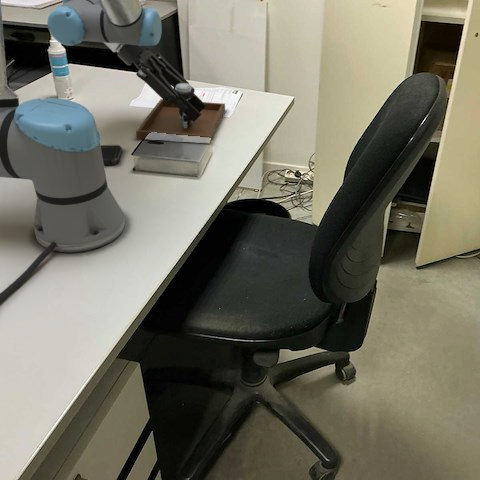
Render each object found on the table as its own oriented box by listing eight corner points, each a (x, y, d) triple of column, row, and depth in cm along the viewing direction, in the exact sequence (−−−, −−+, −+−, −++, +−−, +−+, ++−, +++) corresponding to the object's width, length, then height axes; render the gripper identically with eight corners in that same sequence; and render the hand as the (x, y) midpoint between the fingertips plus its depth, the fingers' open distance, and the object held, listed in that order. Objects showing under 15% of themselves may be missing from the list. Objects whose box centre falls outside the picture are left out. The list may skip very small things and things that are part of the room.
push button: (195, 130, 139) (193, 92, 133) (174, 130, 138) (170, 92, 132) (197, 118, 144) (194, 81, 138) (176, 118, 144) (173, 81, 138)
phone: (116, 160, 122) (44, 160, 120) (117, 165, 122) (45, 165, 120) (122, 145, 128) (54, 145, 126) (123, 149, 129) (55, 149, 127)
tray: (209, 144, 134) (209, 136, 133) (137, 139, 134) (136, 131, 133) (225, 111, 152) (224, 103, 150) (161, 106, 152) (160, 99, 150)
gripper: (123, 42, 121) (202, 118, 131) (147, 22, 137) (216, 91, 146) (103, 64, 124) (181, 137, 134) (129, 42, 139) (198, 109, 149)
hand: (199, 113), depth 140 cm, fingers closed on push button, 5 cm apart
